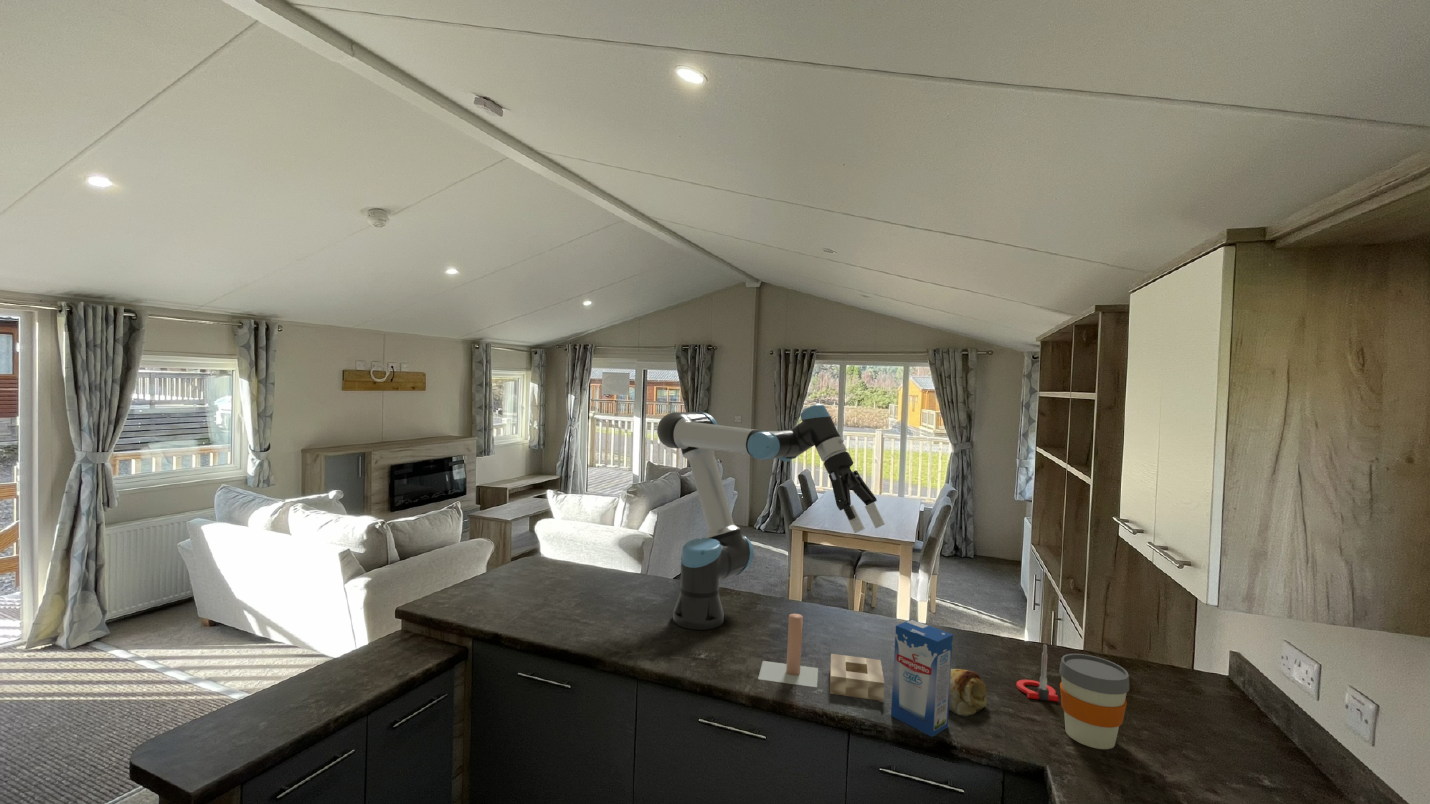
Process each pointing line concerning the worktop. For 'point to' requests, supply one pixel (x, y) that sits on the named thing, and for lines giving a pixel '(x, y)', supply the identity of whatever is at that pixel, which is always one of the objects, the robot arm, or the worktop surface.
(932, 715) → the milk carton
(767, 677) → the mat
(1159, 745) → the worktop surface
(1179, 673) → the worktop surface
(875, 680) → the hole block
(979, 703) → the pastry
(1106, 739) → the reusable coffee cup
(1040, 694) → the tow hook
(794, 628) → the peg
